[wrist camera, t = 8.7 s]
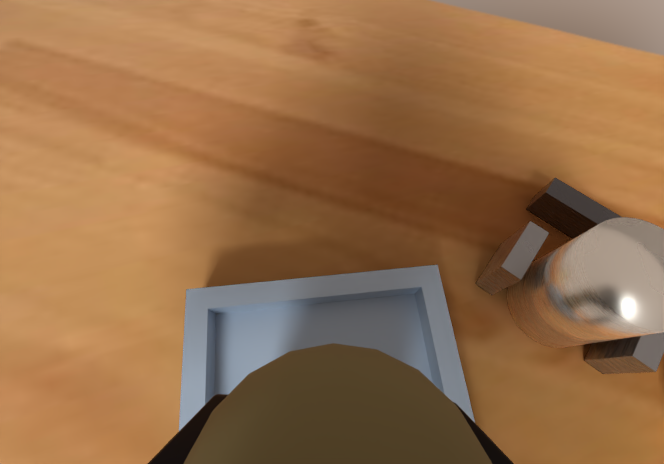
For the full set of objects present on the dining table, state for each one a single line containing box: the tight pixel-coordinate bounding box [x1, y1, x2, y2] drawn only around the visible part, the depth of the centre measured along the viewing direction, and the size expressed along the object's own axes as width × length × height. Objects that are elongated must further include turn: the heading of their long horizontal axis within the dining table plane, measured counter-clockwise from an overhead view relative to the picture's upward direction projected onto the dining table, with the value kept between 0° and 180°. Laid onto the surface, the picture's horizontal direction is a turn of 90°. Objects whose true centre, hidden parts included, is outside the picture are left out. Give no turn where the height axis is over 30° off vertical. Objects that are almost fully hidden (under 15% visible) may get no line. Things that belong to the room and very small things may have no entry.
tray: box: [179, 265, 475, 431], centre depth 15 cm, size 12×12×2 cm
